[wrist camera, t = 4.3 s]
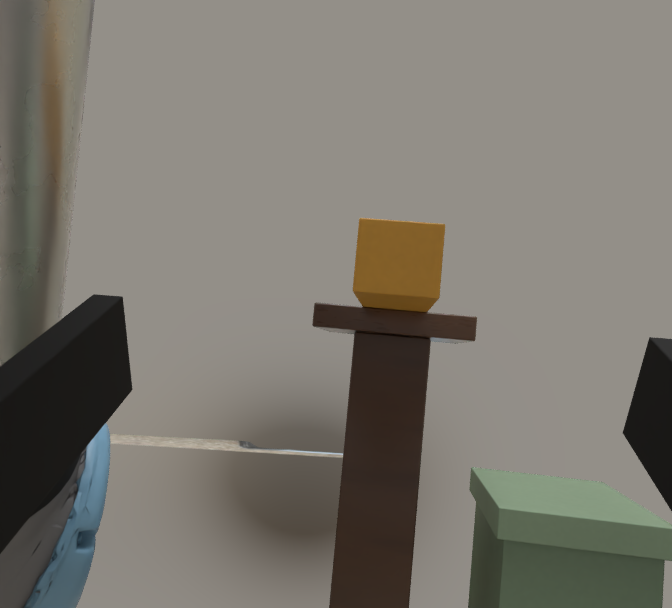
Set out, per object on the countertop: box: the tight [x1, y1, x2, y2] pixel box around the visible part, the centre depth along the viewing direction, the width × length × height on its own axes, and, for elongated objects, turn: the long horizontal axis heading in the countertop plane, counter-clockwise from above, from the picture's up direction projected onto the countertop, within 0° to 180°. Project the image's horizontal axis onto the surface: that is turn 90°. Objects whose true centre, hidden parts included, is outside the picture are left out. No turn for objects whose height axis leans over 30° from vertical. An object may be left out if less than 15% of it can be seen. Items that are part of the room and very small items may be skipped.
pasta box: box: [353, 218, 445, 312], centre depth 38 cm, size 22×4×4 cm, turn 174°
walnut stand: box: [313, 303, 477, 608], centre depth 40 cm, size 10×10×30 cm
